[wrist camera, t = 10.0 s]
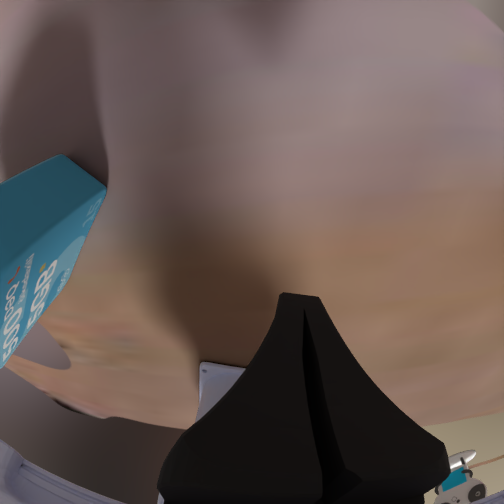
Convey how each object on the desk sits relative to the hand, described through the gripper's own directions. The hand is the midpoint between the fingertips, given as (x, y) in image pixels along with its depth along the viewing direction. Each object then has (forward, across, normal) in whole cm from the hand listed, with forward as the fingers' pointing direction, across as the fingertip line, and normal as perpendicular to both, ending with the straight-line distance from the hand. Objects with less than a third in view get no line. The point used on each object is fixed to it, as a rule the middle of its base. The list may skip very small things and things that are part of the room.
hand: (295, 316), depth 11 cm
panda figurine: (+10, -43, +46) cm, 64 cm away
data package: (+11, +17, +4) cm, 21 cm away
